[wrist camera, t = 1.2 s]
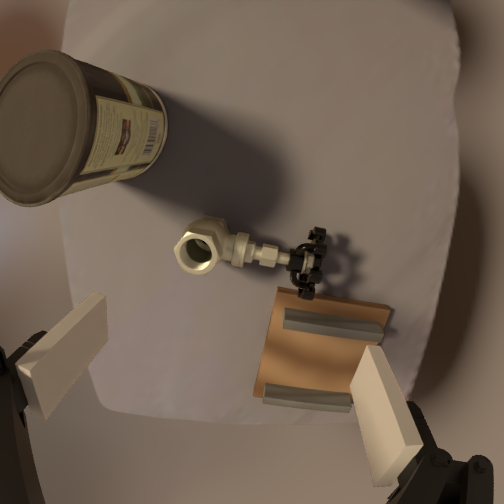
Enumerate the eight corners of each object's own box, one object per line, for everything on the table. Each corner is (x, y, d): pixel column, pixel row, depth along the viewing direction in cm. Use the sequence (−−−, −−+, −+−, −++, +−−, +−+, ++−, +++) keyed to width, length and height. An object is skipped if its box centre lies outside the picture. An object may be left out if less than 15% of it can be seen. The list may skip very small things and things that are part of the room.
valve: (187, 260, 32) (305, 284, 32) (167, 286, 26) (310, 316, 26) (196, 195, 30) (321, 220, 30) (175, 208, 24) (332, 239, 24)
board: (277, 286, 32) (277, 303, 29) (387, 305, 32) (398, 322, 29) (253, 389, 37) (251, 410, 33) (347, 401, 37) (352, 421, 33)
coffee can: (73, 100, 28) (-23, 89, 14) (160, 67, 27) (82, 22, 13) (88, 191, 31) (-6, 222, 17) (177, 168, 30) (103, 185, 16)
